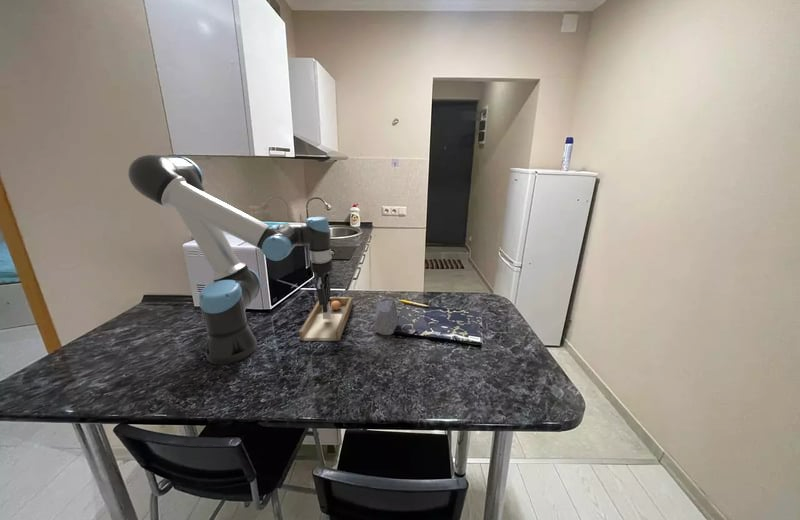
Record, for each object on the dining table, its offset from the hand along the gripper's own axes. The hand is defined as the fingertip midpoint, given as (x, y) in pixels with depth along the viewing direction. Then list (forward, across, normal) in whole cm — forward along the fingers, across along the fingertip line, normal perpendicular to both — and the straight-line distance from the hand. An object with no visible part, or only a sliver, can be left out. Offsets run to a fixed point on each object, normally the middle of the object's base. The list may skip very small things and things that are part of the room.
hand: (326, 318), depth 117 cm
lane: (+3, +3, 0) cm, 4 cm away
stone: (+3, -4, -23) cm, 23 cm away
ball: (+1, +12, -1) cm, 12 cm away
